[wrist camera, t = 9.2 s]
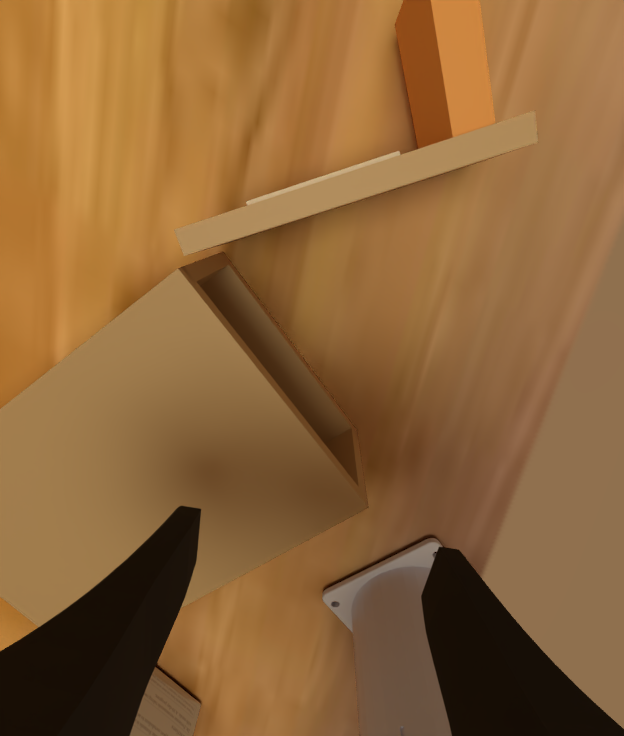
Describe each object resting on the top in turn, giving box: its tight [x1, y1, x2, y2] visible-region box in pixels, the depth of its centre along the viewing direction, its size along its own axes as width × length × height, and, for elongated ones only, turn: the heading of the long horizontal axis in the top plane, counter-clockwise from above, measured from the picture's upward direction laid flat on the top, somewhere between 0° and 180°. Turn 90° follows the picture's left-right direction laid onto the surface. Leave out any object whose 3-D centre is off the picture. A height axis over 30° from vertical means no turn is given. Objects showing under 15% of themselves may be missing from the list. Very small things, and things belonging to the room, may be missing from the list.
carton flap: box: [174, 0, 538, 256], centre depth 14 cm, size 11×5×6 cm, turn 107°
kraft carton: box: [0, 252, 368, 627], centre depth 19 cm, size 11×16×6 cm
